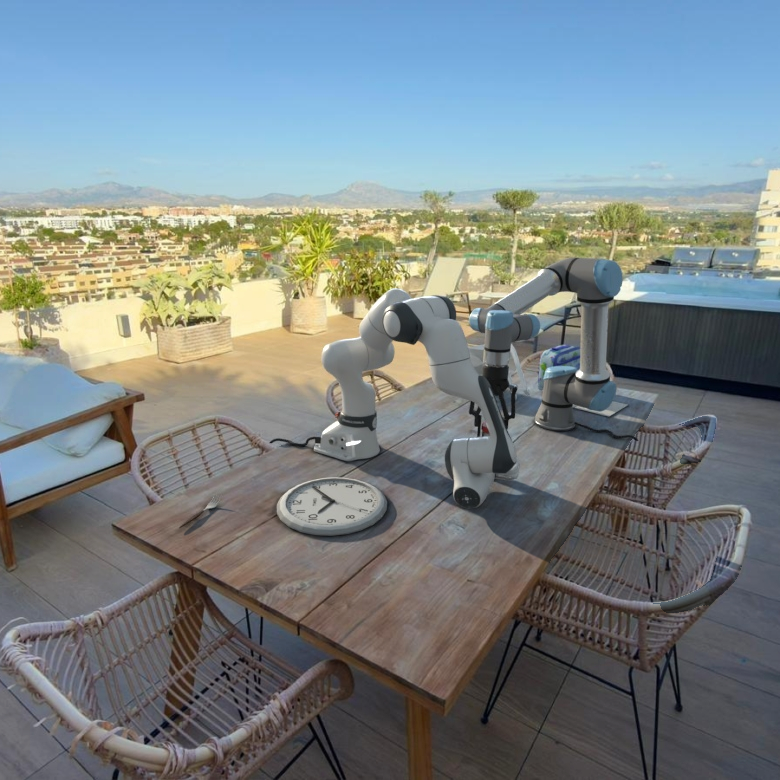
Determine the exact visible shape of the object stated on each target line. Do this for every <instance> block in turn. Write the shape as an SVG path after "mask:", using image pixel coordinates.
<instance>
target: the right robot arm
mask: <svg viewBox="0 0 780 780" xmlns="http://www.w3.org/2000/svg"><path fill="white" fill-rule="evenodd" d="M623 278H624V277H623V271H622V268H621V266H620V265H619V264H618V263H617V262H616V261H615V260H611V259H605V258H594V257H593V258H591V257H589V258H588V257H575V256H574V257H568V258H564V259H561V260H559V261H556V262H553V263H552V264H550V265H548V266H546V267H545V268H543V269H541V270H540V271H538V273H537V275H536V277H534V278H532V279H531V280H529V281H528V282H526V283H524V284H523V285H521V286H520V287H518V288H517V289H515V290H514V291H512V292H510V293H509V294H507V295H506V296H505V297H503V298H501V299H500V300H498V301H497V302H495V303H493V304H491V305H490V306H488V307H487V308H485V307H476V308H474V309H473V310H472V311H471V313H470V315H469V318H468V324H469V327H470V328H471V329H472V330H473V331H475V332H478V333H481V334H484V344H485V346H484V355H483V362H484V363H485V364H483V370H482V376H484V377H486V379H487V380H488V382H489V384H490V386H491V388H492V391H493V393H494V396H495V397H498V400H499V403H500V406H501V410H502V413H503V416H502V417H503V420H504V423H505V426H506V428H507V430H508V429H509V421H510V420H513V419H515V418H516V399H515V394H516V395H517V391H518V388H519V387H518V385H517V384H513V385H512V384H509V381H508V372H509V371H510V366H509V364H510V348H511V344H512V343H515V342H520V341H529V340H530V339H534V338H535V337H537V336H538V335H539V333H540V331H541V322H540V319H539V318H538V317H537V316H536V315H534V314H531V313H525V312H526V311H528V310H529V309H531V308H532V307H533V306H536V305H537V304H538V303H539V302H542V300H544V299H546V298H547V297H549V296H552V297H553V296H555V295H557V294H558V293H575V294H576V301H577V303H578V304H580V305H581V306H580V307H581V310H580V314H581V315H580V346H579V347H580V369H579V370H578V371H577V368H575V367H572V366H554V367H550V368H547V369H546V371H545V374H544V378H543V379H544V382H543V390H541V391H542V394H541V402H540V405H539V407H538V410H537V411H536V413H535V417H534V424H535V425H536V426H537V427H539V428H542V429H544V430H549V431H556V432H567V431H572V430H574V429H575V428H576V426H578V427H581V428H583V429H587V430H588V431H591V432H595V433H608V434H610V436H611V437H613V438H615V439H628V438H629V439H633V440H634V441H635V442H639V439H638V438H637V437H636V436H635V435H632V434H623V435H618V434H615V433H614V432H613V431H612V430H610V429H603V428H602V429H596V428H593V427H591V426H588V425H586V424H582V423H580V422H577V421H576V418H575V417H576V416H575V413H574V407H573V405H574V406H580V407H584V408H587V409H589V410H594V411H599V412H601V411H604V410H606V409H607V408H608V407H609V406H610V404H611V403H612V401H614V400H615V398H616V397H615V396H616V394H617V389H618V387H617V384H616V382H614V381H613V380H611V373H610V371H608V370H607V350H608V348H607V347H608V325H609V307H610V304H611V303H612V302H613V301H614V300H615V297H616V296H617V295H618V294H619V293H620V292H621V287H622V286H623V281H624V280H623ZM507 389H508V390H509V389H510V390H509V393H510V413H509V410H508V406H507V402H506V399H505V394H504V392H506V390H507ZM469 404H470V405H469V409H468V414H469V415H470V416H473V418H474V419H473V420H474V423H473V426H474V427H475V428H477V432H476V437H481V432H482V429H481V427H482V416H483V414H481V413H482V411H481V409H480V407H479V406H478V405H477V408H476V410H475V405H476V403H474V402H472V401H470V402H469Z"/></svg>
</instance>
